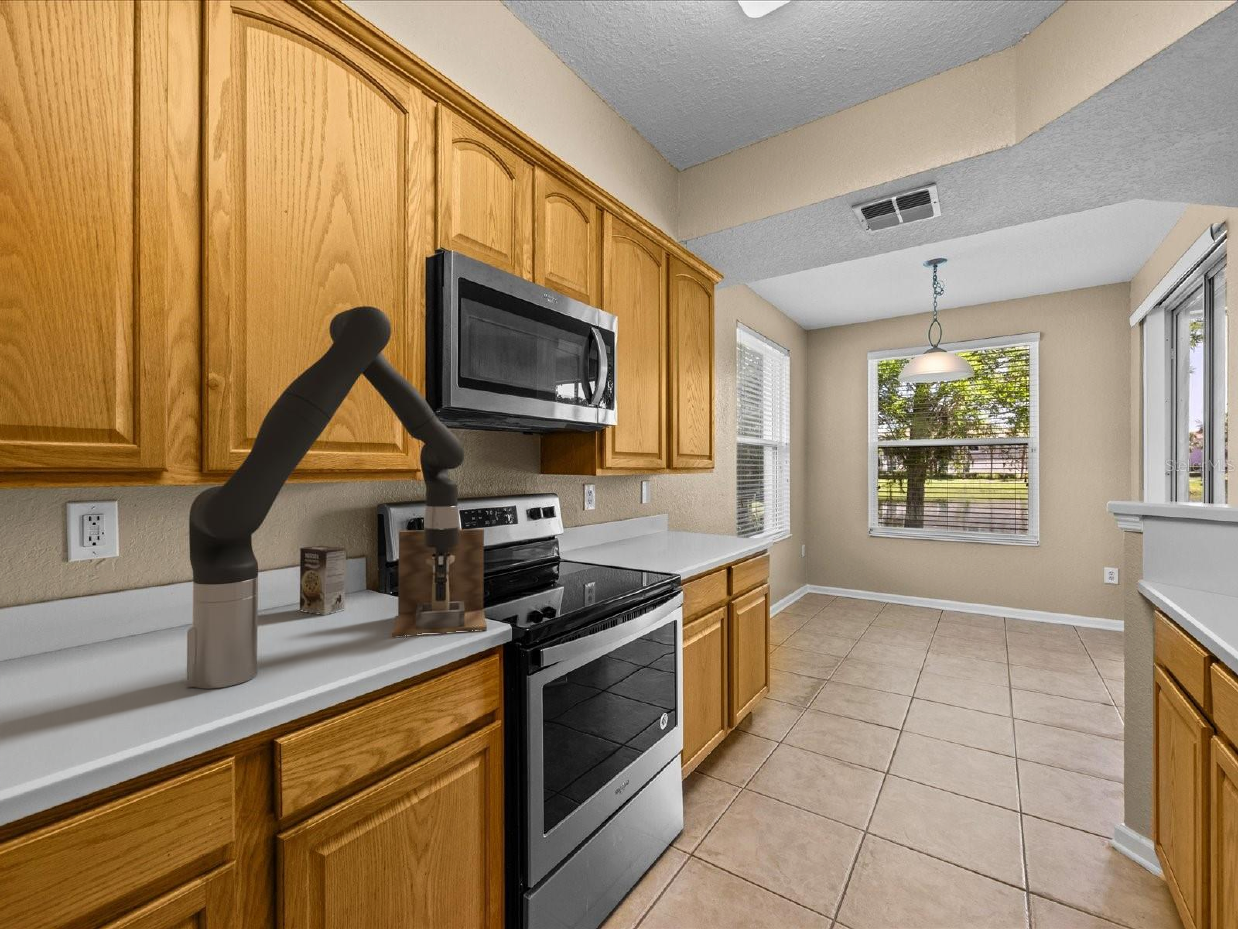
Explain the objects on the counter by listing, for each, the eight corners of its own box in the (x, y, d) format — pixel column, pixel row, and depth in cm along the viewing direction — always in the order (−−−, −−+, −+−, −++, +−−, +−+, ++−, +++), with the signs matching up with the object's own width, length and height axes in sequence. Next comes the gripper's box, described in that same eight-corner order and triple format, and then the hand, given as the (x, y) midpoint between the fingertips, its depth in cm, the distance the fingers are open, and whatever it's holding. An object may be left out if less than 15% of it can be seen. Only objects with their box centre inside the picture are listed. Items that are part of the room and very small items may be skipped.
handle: (458, 620, 132) (458, 556, 132) (436, 627, 127) (436, 560, 127) (444, 617, 135) (444, 554, 135) (422, 624, 129) (422, 558, 129)
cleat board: (391, 637, 122) (392, 539, 122) (399, 615, 141) (400, 530, 141) (486, 630, 128) (487, 537, 128) (482, 610, 146) (483, 528, 146)
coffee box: (298, 612, 143) (298, 547, 143) (320, 606, 149) (321, 544, 149) (324, 616, 139) (324, 550, 139) (346, 610, 145) (346, 546, 145)
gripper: (425, 522, 137) (425, 591, 137) (422, 529, 123) (422, 605, 123) (458, 522, 139) (457, 589, 139) (458, 528, 125) (458, 603, 125)
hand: (440, 596), depth 131 cm, fingers open, 7 cm apart
